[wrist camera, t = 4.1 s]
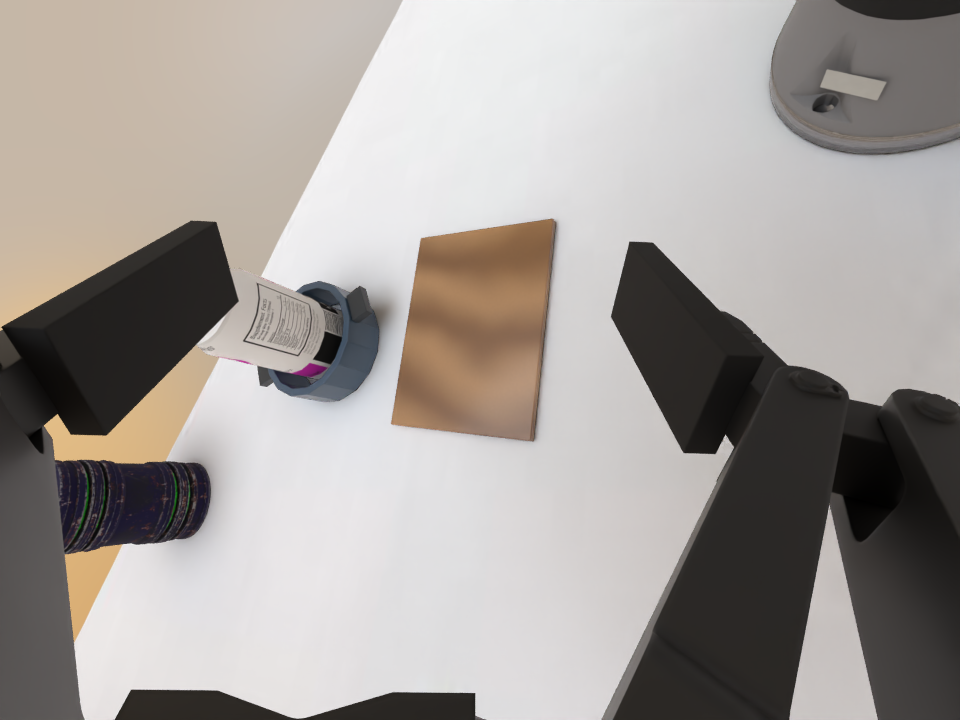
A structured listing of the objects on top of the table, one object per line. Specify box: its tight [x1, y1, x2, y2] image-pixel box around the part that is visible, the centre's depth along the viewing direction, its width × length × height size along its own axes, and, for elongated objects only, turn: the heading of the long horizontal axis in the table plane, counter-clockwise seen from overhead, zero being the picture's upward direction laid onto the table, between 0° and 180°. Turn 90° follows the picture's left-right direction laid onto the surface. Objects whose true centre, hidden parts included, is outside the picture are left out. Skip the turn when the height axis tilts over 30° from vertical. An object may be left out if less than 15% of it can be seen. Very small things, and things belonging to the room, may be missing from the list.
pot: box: [257, 281, 379, 402], centre depth 49 cm, size 13×17×4 cm
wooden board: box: [391, 219, 556, 441], centre depth 42 cm, size 20×15×1 cm
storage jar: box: [55, 460, 210, 554], centre depth 52 cm, size 10×10×15 cm
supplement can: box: [196, 268, 344, 380], centre depth 44 cm, size 8×8×15 cm
